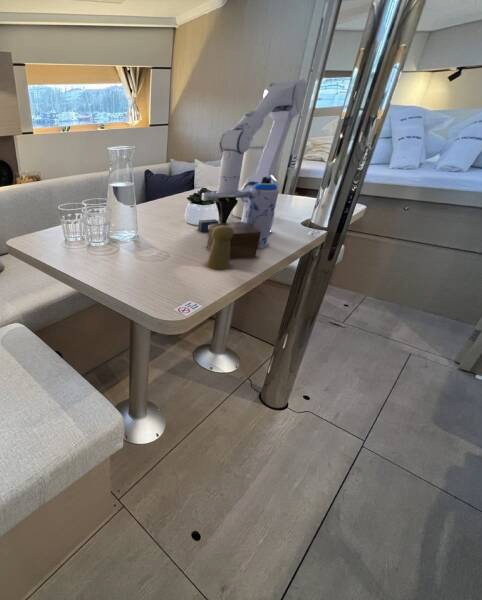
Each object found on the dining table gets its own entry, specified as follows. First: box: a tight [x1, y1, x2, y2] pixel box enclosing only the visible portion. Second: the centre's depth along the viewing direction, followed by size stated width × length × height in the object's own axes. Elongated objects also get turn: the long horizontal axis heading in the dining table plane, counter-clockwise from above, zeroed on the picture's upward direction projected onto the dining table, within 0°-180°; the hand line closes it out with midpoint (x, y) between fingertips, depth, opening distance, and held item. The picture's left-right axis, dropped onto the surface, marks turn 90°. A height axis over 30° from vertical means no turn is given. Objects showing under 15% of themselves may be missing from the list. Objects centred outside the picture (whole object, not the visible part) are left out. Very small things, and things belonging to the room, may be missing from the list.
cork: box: [206, 226, 234, 271], centre depth 84 cm, size 6×6×11 cm
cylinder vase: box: [232, 145, 280, 219], centre depth 122 cm, size 12×12×25 cm
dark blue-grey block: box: [197, 218, 219, 233], centre depth 113 cm, size 6×3×4 cm, turn 94°
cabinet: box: [206, 221, 261, 260], centre depth 93 cm, size 11×10×8 cm
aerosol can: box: [244, 177, 279, 249], centre depth 95 cm, size 8×8×20 cm
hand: (222, 222), depth 98 cm, fingers closed
